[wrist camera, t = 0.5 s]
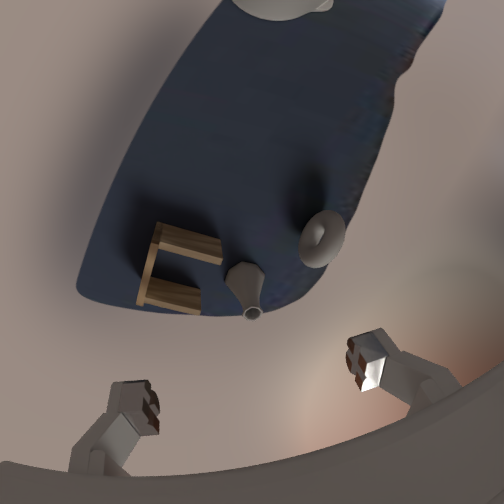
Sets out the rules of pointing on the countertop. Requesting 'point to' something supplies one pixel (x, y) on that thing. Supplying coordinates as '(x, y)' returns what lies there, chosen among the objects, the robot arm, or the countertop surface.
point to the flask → (246, 288)
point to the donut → (330, 243)
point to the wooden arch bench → (185, 245)
